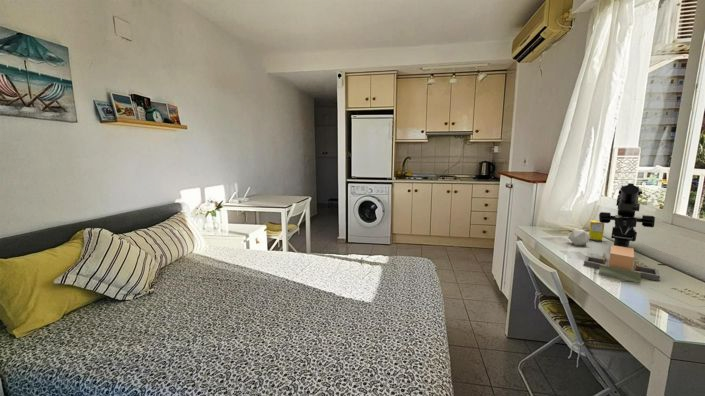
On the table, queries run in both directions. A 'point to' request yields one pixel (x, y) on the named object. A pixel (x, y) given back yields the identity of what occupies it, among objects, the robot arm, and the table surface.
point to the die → (579, 237)
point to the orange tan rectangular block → (621, 257)
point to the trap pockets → (645, 271)
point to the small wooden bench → (620, 271)
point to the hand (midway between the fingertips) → (623, 234)
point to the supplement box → (596, 230)
